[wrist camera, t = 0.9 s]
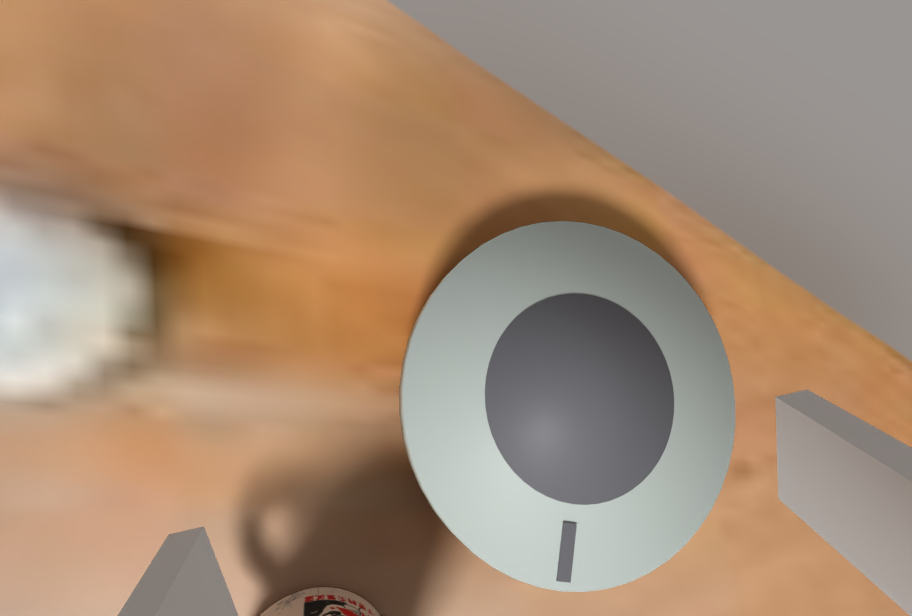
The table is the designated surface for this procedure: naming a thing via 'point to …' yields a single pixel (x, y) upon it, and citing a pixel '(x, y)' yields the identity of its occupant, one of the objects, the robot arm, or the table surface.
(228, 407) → the table surface
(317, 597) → the teacup with lid
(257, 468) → the table surface
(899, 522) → the robot arm
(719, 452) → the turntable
